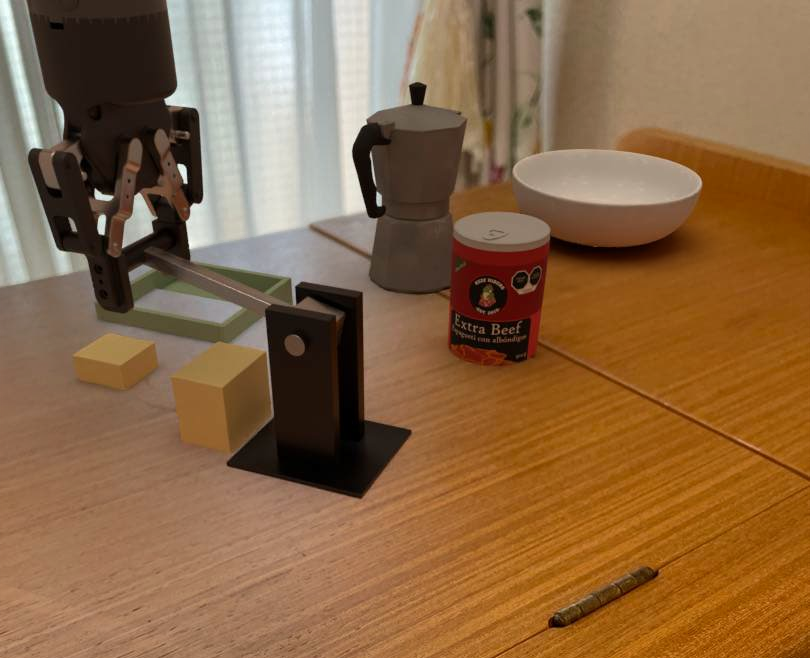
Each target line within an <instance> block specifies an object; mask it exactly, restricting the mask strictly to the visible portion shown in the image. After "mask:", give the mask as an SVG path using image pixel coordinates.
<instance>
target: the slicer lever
mask: <svg viewBox="0 0 810 658" xmlns="http://www.w3.org/2000/svg"><path fill="white" fill-rule="evenodd" d="M175 244H176V238H175V235H174V234H173V232H172V231H171V230H169V229H168V228H161V229H159V230H157V231H155V232H153V231H152V232H151V233H149V234H147V235H145V236H143V237H142V238H139V239H138V240H135V241H133V242H131V243H130V244H127V245H126V246H123V247H122V251H121V254H125V257H126V263H127V268H128V274H129V273H130V272H132V271H134V270H136V269H138V268H139V267H141V266H146V267H148V268H150V269H155V270H157V271H160V272H162V273H164V274H167V275H169V276H171V277H174V278H176V279H178V280H181V281H183V282H185V283H188V284H190V285H192V286H195V287H197V288H199V289H201V290H204V291H206V292H208V293H211V294H213V295H215V296H218V297H220V298H222V299H225V300H227V301H229V302H228V303H232V304H234V305H236V306H238V307H241V308H246V309H248V310H250V311H253V312H255V313H257V314H260V315H262V316H263V317H264V318H266V317H265V309H266V308H267V307H268V306H270V305H271V304H277V305H283V306H288V307H294V308H299V309H305V310H310V311H316V312H321V313H327V314H332V315H336V331H337V346H338V345H339V344H340V339H341V334H342V329H343V324H344V320H345V315H346V313H345V312H343V311H341V310H338V309H336V308H334V307H331V306H329V305H327V304H324V303H322V302H320V301H317V300H315V299H313V298H310V297H306V298H305V299H304V300H302V301H301V302H300V303H299V304H297V305H296V304H295V305H293V304H288V303H286V302H284V301H281V300H279V299H277V298H274V297H272V296H270V295H267V294H265V293H263V292H260V291H258V290H256V289H253V288H251V287H249V286H246V285H244V284H241V283H239V282H237V281H234V280H232V279H230V278H227V277H225V276H223V275H220V274H218V273H216V272H213V271H211V270H209V269H206V268H204V267H202V266H199V265H197V264H195V263H192V262H190V261H191V260H190V261H188V260H185V259H183V258H181V257H178V256H176V255H174V254H171V253H169V252H167V251H168V250H170V249H172V248H174V246H175Z"/></svg>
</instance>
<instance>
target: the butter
mask: <svg viewBox="0 0 810 658" xmlns="http://www.w3.org/2000/svg"><path fill="white" fill-rule="evenodd" d="M267 356H268V355H267V351H266V350H263V349H258V348H254V347H248V346H242V345H238V344H233V343H223V342H216V343H214V344H212V345H211V346H210V347H209V348H207V349H205V350H204V351H203V352H201V353H200V354H199V355H197V356H196V357H194V358H193V359H192V360H190V361H189V362H188V363H187V364H185V365H184V366H183V367H180V369H179V370H178V371H175V373H173V374H172V375H171V376H170V378H171V386H172V390H173V391H172V392H173V397H174V403H175V408H176V415H177V422H178V427H179V434H180V440H181V443H185V444H190V445H194V446H198V447H203V448H207V449H211V450H215V451H219V452H223V453H226V454H232V453H233V452H234V451H235V450H236V449H237V448H238V447H239V446H240V445H241V444H242V443H243V442H244V441H245V440H247V438H248V437H250V435H252V434H253V433H254V432H255V431H256V430H257V429H258V428H259V427H260V426H261V425H262V424H263V423H264V422H265V421H266V420H267V419H269V417H271V416H272V414H273V413H272V403H271V402H272V401H271V391H270V381H269V369H268V357H267Z"/></svg>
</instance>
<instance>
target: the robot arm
mask: <svg viewBox="0 0 810 658" xmlns="http://www.w3.org/2000/svg"><path fill="white" fill-rule="evenodd" d="M25 2H26V6H27V11H28V15H29V20H30V25H31V28H32V34H33V39H34V44H35V49H36V53H37V57H38V62H39V67H40V71H41V75H42V81H43V86H44V89H45V91H46V93H47V95H48V96H49V98H51V99H53V100H54V101H55V103H57V104H58V105H59V107H60V108H61V111H62V114H63V132H62V141H60V142H58V143H57V144H55V145H53V146H52V147H49V148H40V147H32V148H31V149H29V151H28V152H27V153H28V154H27V162H28V166H29V169H30V173H31V176H32V178H33V180H34V184H35V187H36V191H37V193H38V196H39V199H40V203H41V205H42V208H43V211H44V214H45V217H46V220H47V223H48V226H49V229H50V232H51V235H52V238H53V241H54V244H55V247H56V248H57V249H58V251H60V252H66V253H74V254H80V255H84V256H85V258H86V260H87V265H88V269H89V274H90V278H91V279H90V280H91V283H92V288H93V293H94V298H95V301H97V302H98V303H99V304H100V305H101V307H102V308H103V309H104V310H106V311H111V312H116V313H122V314H125V313H127V312H129V311H130V310H132V309H133V308H134V307H135V301H133V295H132V290H131V284H130V281H131V280H130V275H129V273H128V268H127V263H126V257H125V254H121V251H122V248H123V245H124V244H123V243H124V233H125V224H126V221H127V220H129V219H131V217H132V215H133V213H134V206H135V205H134V204H135V196H137V195H138V194H140V195H141V197H142V198H143V200H144V202H145V205H146V206H147V208H148V210H149V212H150V214H151V216H153V217H154V218H155V217H156V218H155V219H153V220H151V227H152V233H153V232H155V231H157V230H159V229H161V228H168V229H169V230H171V231H172V232H173V234H174V235H175V238H176V244H175V246H174V248H172V249H170V250H168V251H167V252H169V253H171V254H174V255H176V256H178V257H181V258H183V259H185V260H188V261H191V259H192V258H191V257H192V256H191V249H190V243H189V234H188V228H187V227H188V226H187V221H188V220H189V219H190V217H191V207H192V206H193V205H195V204H196V205H201V204H202V202H203V199H204V178H203V161H202V160H203V158H202V140H201V124H200V123H201V122H200V112H199V110H198V109H197V108H195V107H189V106H182V105H171V104H167V103H166V99H168V98H170V97H171V96H173V95H174V94H175V92H176V91H177V89H178V77H177V68H176V63H175V62H176V61H175V54H174V46H173V38H172V32H171V31H172V30H171V24H170V17H169V16H170V15H169V7H168V2H167V0H25ZM179 165H182V166H184V167H185V168H186V170H185V171H186V182H185V181H184V178H183V175H182V173H181V171H180V169H179ZM96 191H97V192H99V193H100V194H101V195H104V196H110V197H112V198H111V199H110V200H104V199H97V198H96V195H95V194H96ZM101 216H104V217H105V223H104V233H103V234H101V233H100V232H99V229H98V226H99V225H98V224H99V219H100V217H101ZM70 219H71V220H72V222H73V223H74V226H75V229H76V231H75V230H73V228H72V225H71V221H70ZM161 273H162V272H161ZM162 274H164V273H162ZM164 275H166V276H169V275H167V274H164Z"/></svg>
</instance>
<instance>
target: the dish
mask: <svg viewBox="0 0 810 658" xmlns="http://www.w3.org/2000/svg"><path fill="white" fill-rule="evenodd" d="M190 262H192V263H195V264H197V265H199V266H202V267H204V268H206V269H209V270H211V271H213V272H216V273H218V274H220V275H223V276H225V277H227V278H230V279H232V280H234V281H237V282H239V283H241V284H244V285H246V286H249V287H251V288H253V289H256V290H258V291H260V292H263V293H265V294H267V295H270V296H272V297H274V298H277V299H279V300H281V301H284V302H286V303H288V304H291V305H293V302H294V301H293V284H292V277H288V276H282V275H277V274H270V273H265V272H258V271H254V270H253V271H252V270H247V269H241V268H236V267H229V266H224V265H218V264H212V263H207V262H201V261H195V260H190ZM130 284H131V290H132V295H133V301H134V302H136V301H138V300H139V299H140V298H141V299H142V297H144V296H146V295H147V294H149V293H151V292H152V291H154V290H156V289H157V290H163V291H167V292H172V293H176V294H177V293H178V294H184V295H189V296H193V297H199V298H205V299H211V300H216V301H221V302H227V303H230V302H229V301H227V300H225V299H222V298H220V297H218V296H215V295H213V294H211V293H208V292H206V291H204V290H201V289H199V288H197V287H195V286H192V285H190V284H188V283H185V282H183V281H181V280H178V279H176V278H174V277H171V276H166V275H164V274H162V273H161V272H160V271H157V270H155V269H153V268H150V270H147V271H145V272H144V273H143V274H141V275H138V276H137V277H136V278H134V279H132V280H130ZM93 303H94V308H95V312H96V317H97V320H100V321H105V322H111V323H115V324H120V325H125V326H130V327H135V328H141V329H145V330H151V331H154V332H159V333H164V334H168V335H169V334H170V335H176V336H180V337H185V338H189V339H195V340H200V341H204V342H209V343H214V344H215V343H216V342H223V343H228V344H230V342H232V341H233V340H234V339H235V338H237V337H238V336H239V335H241V334H242V333H243V332H245V331H246V330H248V329H249V328H250V327H252V326H253V325H254V324H255V323H257V322H258V321H259V320H260V319H262V318H263V317H264V316H262V315H260V314H257V313H255V312H253V311H250V310H248V309H246V308H243V307H241V309H239V310H238V311H236V312H235V313H234V314H232V315H231V316H229V317H228V318H227V319H225V320H224V321H222V322H221V323H220V322H216V321H210V320H205V319H202V318H201V319H200V318H195V317H191V316H185V315H180V314H174V313H169V312H164V311H158V310H154V309H149V308H143V307H138V306H134V308H133V309H132V310H130V311H129V312H127V313H125V314H122V313H116V312H111V311H106V310H104V309H103V308H102V307H101V305H100V304H99V303H98V302H97V300H95V301H94V302H93Z"/></svg>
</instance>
